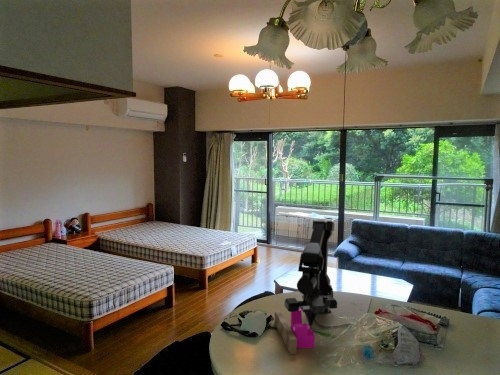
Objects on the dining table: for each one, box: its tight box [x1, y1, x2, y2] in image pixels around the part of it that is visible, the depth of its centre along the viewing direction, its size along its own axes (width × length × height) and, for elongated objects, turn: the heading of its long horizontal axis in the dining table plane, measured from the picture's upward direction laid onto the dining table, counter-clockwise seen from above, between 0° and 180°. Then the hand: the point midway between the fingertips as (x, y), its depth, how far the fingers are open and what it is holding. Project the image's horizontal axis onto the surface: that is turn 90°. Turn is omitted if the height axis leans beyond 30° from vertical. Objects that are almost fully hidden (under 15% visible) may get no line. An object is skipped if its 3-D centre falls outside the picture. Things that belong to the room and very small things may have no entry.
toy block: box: [290, 307, 315, 349], centre depth 124 cm, size 15×6×8 cm, turn 0°
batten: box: [274, 310, 297, 355], centre depth 123 cm, size 22×2×5 cm, turn 10°
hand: (310, 325), depth 125 cm, fingers closed
